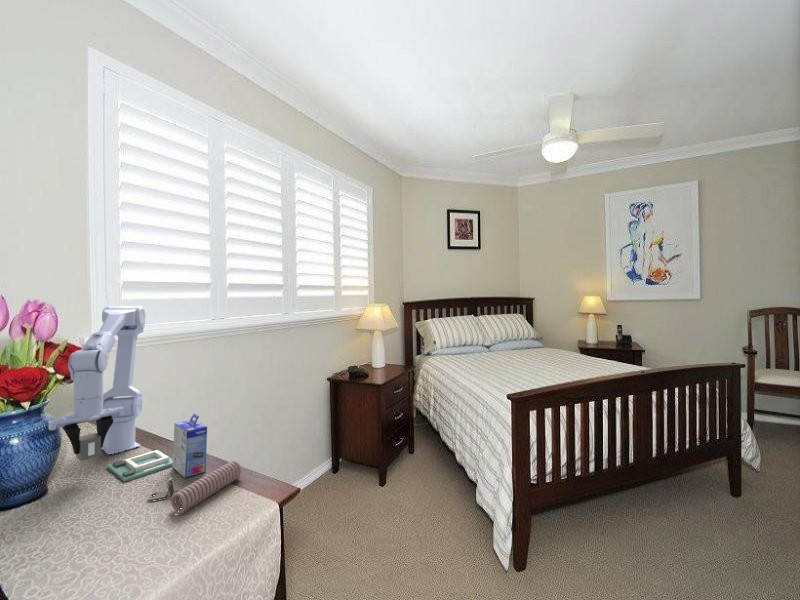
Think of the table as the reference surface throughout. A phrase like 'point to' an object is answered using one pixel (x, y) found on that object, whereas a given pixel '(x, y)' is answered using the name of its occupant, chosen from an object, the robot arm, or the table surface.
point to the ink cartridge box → (190, 447)
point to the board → (140, 465)
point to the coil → (205, 487)
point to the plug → (89, 446)
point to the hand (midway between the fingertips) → (88, 449)
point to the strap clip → (164, 492)
